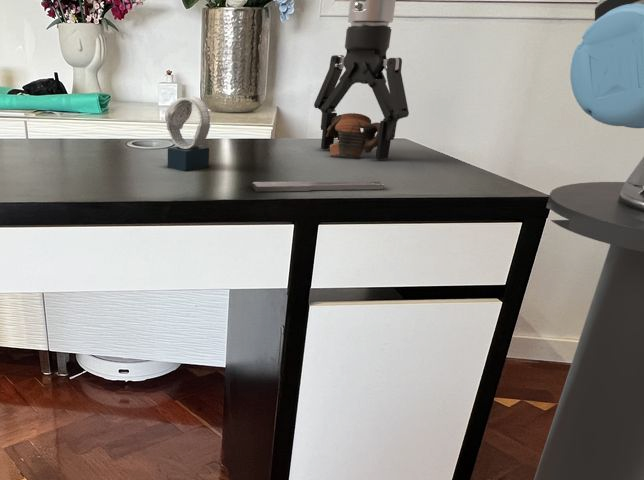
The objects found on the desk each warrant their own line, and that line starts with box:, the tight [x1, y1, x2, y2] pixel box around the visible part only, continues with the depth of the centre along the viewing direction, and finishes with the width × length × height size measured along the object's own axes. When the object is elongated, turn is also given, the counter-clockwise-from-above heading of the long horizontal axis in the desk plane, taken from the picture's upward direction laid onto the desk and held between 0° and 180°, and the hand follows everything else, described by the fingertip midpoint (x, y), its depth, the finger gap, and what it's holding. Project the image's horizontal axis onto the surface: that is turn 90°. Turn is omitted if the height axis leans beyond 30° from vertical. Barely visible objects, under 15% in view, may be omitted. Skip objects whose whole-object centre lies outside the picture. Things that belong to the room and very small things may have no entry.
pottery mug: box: [326, 112, 380, 159], centre depth 118 cm, size 12×10×8 cm
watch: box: [164, 96, 211, 172], centre depth 105 cm, size 6×8×11 cm
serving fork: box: [252, 181, 385, 193], centre depth 93 cm, size 19×3×1 cm, turn 94°
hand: (353, 153), depth 119 cm, fingers open, 12 cm apart
